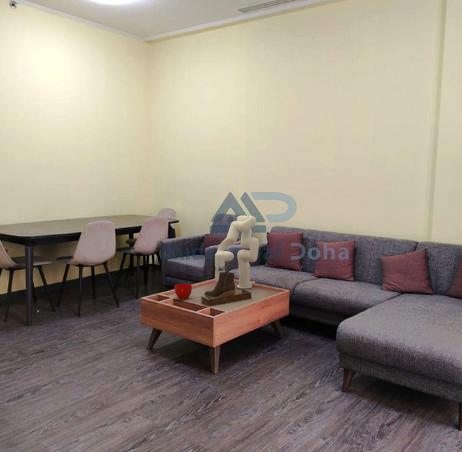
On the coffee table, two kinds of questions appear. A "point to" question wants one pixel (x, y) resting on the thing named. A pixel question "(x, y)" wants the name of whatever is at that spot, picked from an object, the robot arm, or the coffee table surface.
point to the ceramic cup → (183, 291)
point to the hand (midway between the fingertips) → (220, 291)
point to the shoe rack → (226, 298)
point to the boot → (223, 286)
